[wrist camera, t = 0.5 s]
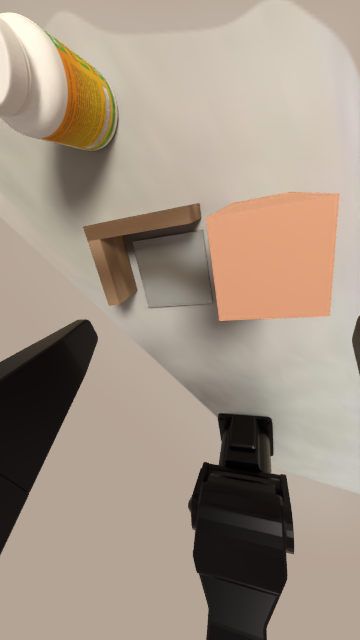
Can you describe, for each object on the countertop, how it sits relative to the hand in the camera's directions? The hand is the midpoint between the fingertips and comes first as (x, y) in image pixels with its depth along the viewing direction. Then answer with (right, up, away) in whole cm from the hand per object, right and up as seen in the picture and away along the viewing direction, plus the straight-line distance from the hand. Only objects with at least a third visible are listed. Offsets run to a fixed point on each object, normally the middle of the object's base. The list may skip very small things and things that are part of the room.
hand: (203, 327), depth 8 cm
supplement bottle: (-8, +17, +12) cm, 23 cm away
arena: (-3, +6, +16) cm, 17 cm away
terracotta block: (+6, +8, +12) cm, 16 cm away
